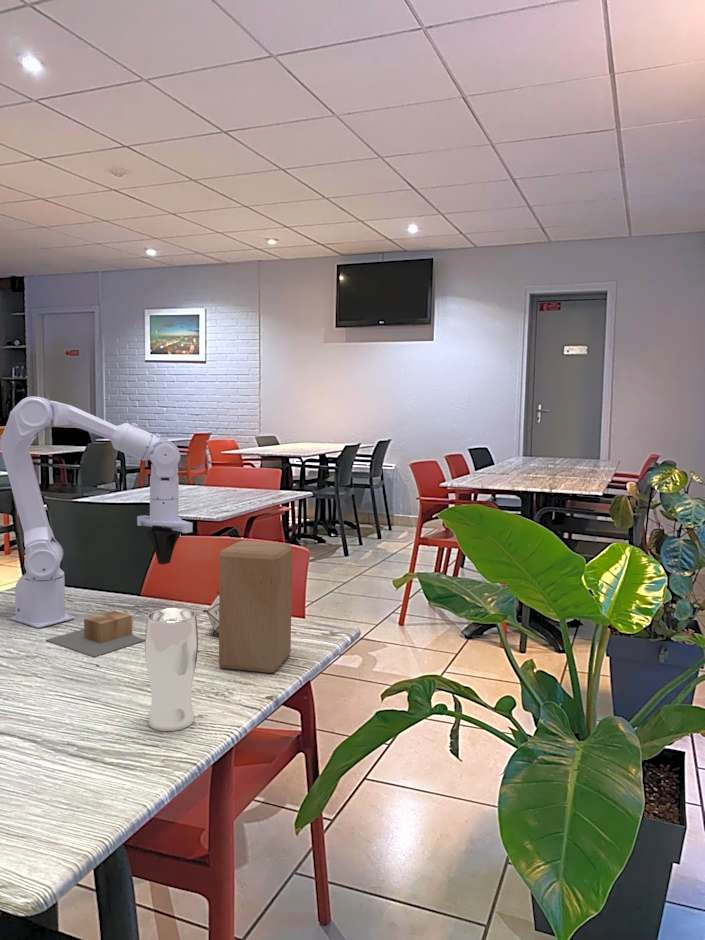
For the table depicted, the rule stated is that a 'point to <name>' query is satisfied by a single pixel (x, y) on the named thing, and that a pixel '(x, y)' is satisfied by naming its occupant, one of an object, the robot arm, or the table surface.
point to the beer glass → (171, 666)
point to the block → (255, 605)
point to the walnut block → (108, 626)
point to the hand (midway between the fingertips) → (164, 563)
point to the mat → (93, 643)
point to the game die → (214, 614)
